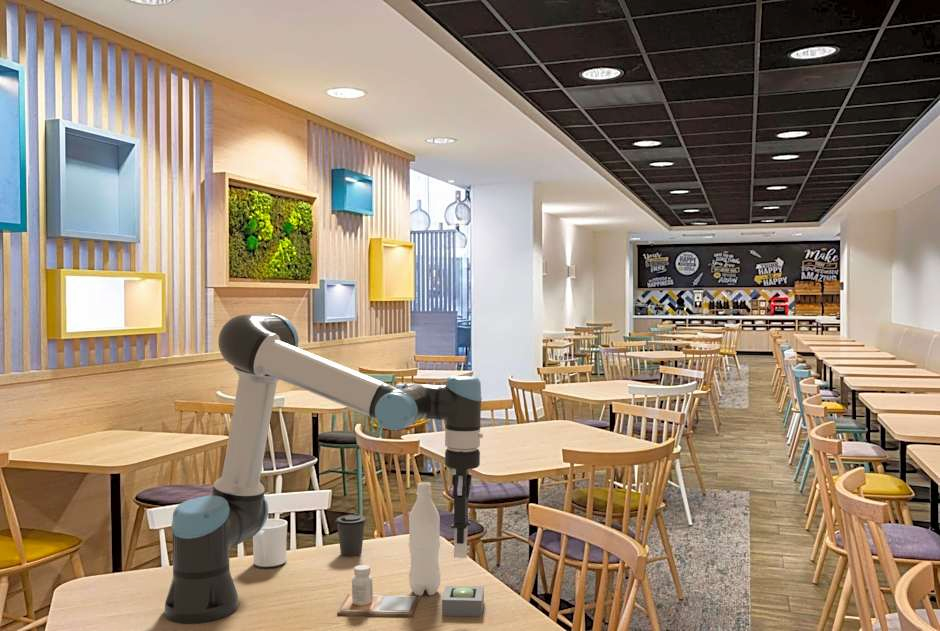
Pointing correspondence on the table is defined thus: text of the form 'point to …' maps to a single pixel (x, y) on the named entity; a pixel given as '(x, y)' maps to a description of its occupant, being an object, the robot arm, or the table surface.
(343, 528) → the coffee cup
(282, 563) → the mug
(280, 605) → the table surface
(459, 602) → the button housing
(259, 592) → the table surface
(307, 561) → the table surface
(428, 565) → the water bottle
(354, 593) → the pill bottle
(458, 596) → the button
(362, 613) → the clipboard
